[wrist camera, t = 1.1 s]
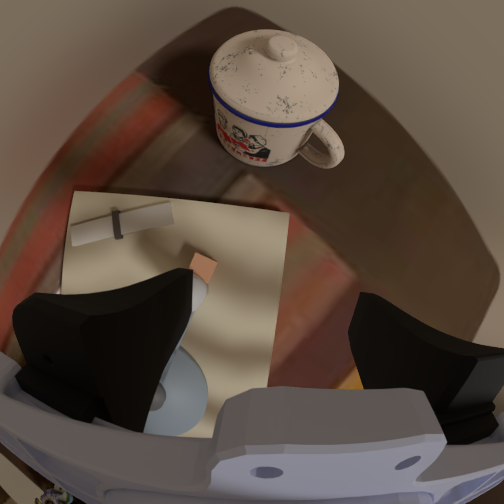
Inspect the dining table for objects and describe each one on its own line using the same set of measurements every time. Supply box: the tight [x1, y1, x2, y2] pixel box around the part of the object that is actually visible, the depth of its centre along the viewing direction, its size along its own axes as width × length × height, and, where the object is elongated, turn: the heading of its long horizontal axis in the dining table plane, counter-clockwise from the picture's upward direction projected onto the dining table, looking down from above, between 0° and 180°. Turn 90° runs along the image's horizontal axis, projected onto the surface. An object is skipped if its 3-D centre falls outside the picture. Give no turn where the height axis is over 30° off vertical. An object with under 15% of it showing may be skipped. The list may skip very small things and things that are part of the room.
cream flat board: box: [61, 191, 290, 438], centre depth 22 cm, size 23×20×2 cm
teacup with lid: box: [208, 30, 344, 168], centre depth 18 cm, size 12×9×12 cm
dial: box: [143, 253, 218, 436], centre depth 19 cm, size 18×10×5 cm, turn 155°
